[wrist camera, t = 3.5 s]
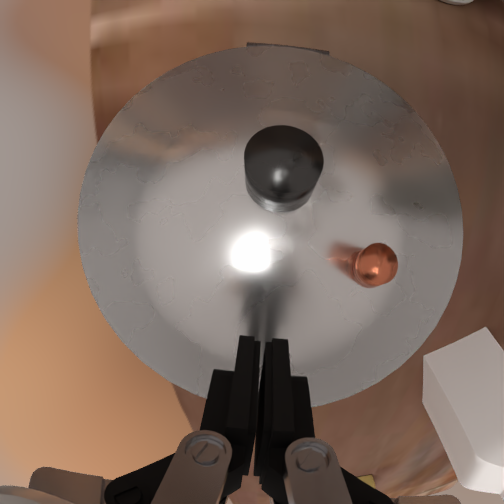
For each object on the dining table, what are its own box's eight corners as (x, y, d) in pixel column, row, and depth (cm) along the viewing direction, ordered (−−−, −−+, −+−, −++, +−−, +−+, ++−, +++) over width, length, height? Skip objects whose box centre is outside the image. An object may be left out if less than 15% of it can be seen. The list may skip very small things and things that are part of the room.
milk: (423, 355, 37) (491, 508, 12) (485, 326, 34) (571, 451, 10) (422, 402, 41) (467, 530, 16) (477, 376, 38) (536, 488, 14)
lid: (422, 83, 16) (439, 54, 13) (447, 398, 11) (483, 409, 9) (145, 53, 16) (134, 21, 14) (61, 363, 12) (24, 367, 9)
